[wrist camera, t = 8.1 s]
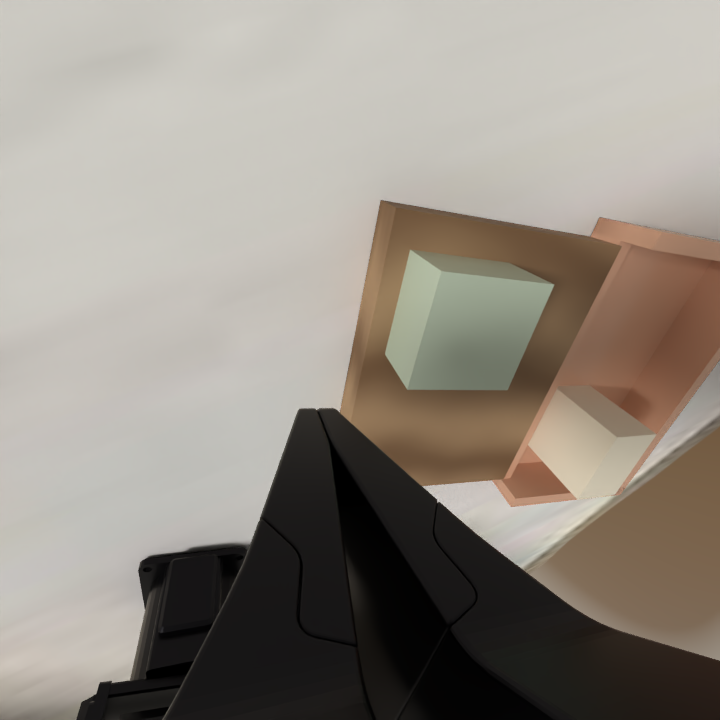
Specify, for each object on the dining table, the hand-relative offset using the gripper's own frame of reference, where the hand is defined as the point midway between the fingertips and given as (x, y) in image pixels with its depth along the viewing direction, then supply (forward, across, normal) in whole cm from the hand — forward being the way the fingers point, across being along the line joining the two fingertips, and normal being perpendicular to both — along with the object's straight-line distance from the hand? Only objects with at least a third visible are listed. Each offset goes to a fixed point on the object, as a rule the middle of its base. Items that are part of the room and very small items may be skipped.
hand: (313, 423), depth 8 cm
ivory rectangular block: (+7, -18, +8) cm, 21 cm away
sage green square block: (+8, -7, 0) cm, 11 cm away
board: (+10, -10, +4) cm, 15 cm away
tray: (+10, -21, +4) cm, 23 cm away
